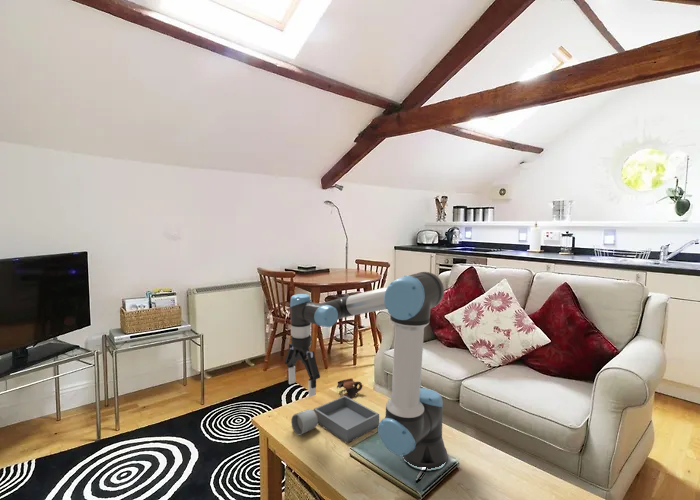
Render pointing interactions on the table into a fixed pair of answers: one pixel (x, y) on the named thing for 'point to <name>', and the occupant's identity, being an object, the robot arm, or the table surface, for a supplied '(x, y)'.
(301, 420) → the ceramic mug
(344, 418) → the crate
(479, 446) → the table surface
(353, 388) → the brown clay vessel
